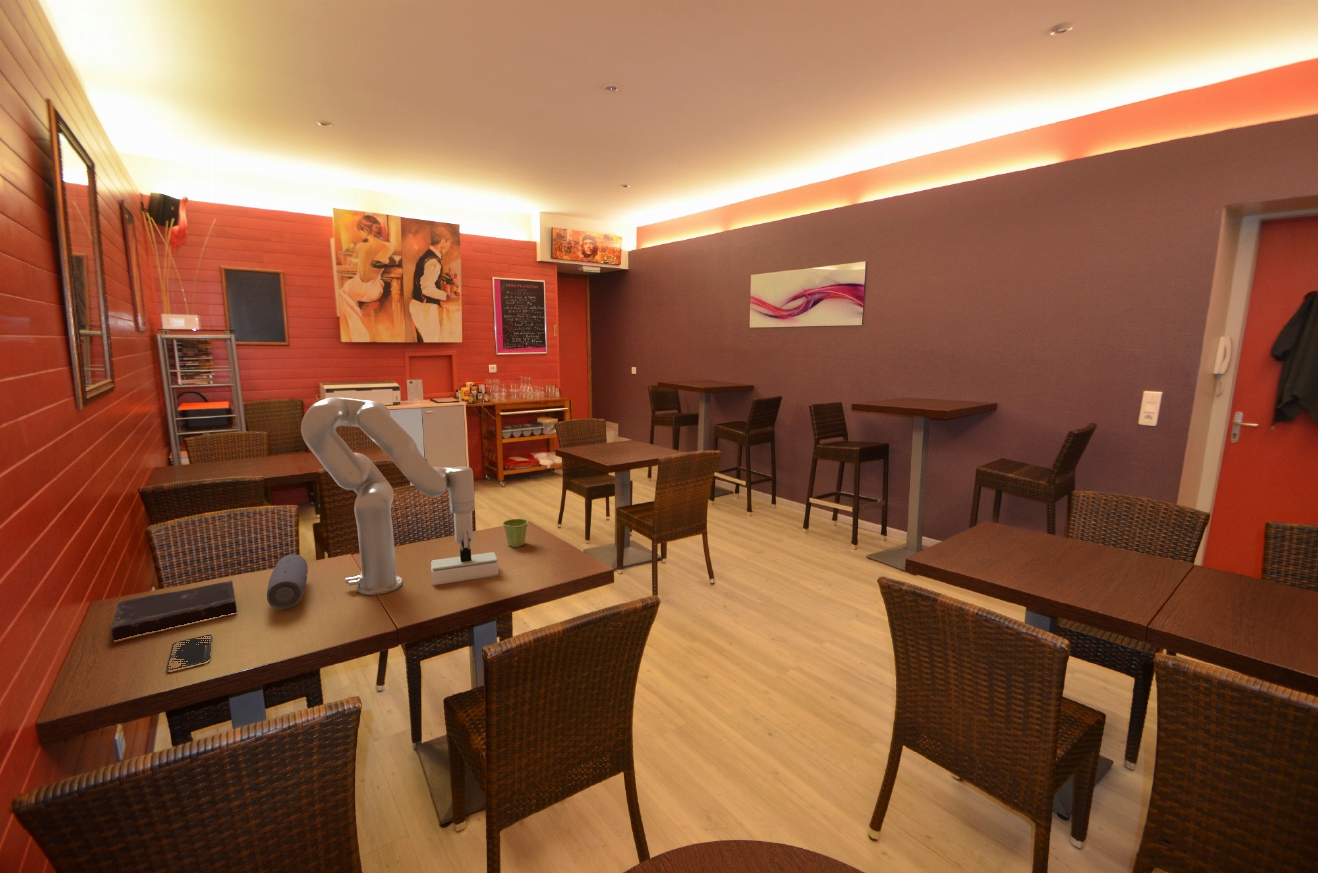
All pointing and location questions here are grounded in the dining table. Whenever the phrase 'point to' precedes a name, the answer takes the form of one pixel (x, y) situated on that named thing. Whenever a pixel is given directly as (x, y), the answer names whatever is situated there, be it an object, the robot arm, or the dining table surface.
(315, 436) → the robot arm
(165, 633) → the dining table surface
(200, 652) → the phone
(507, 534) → the plant pot
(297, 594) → the bluetooth speaker
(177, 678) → the dining table surface
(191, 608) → the diary
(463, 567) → the white hinged box
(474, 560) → the cover
